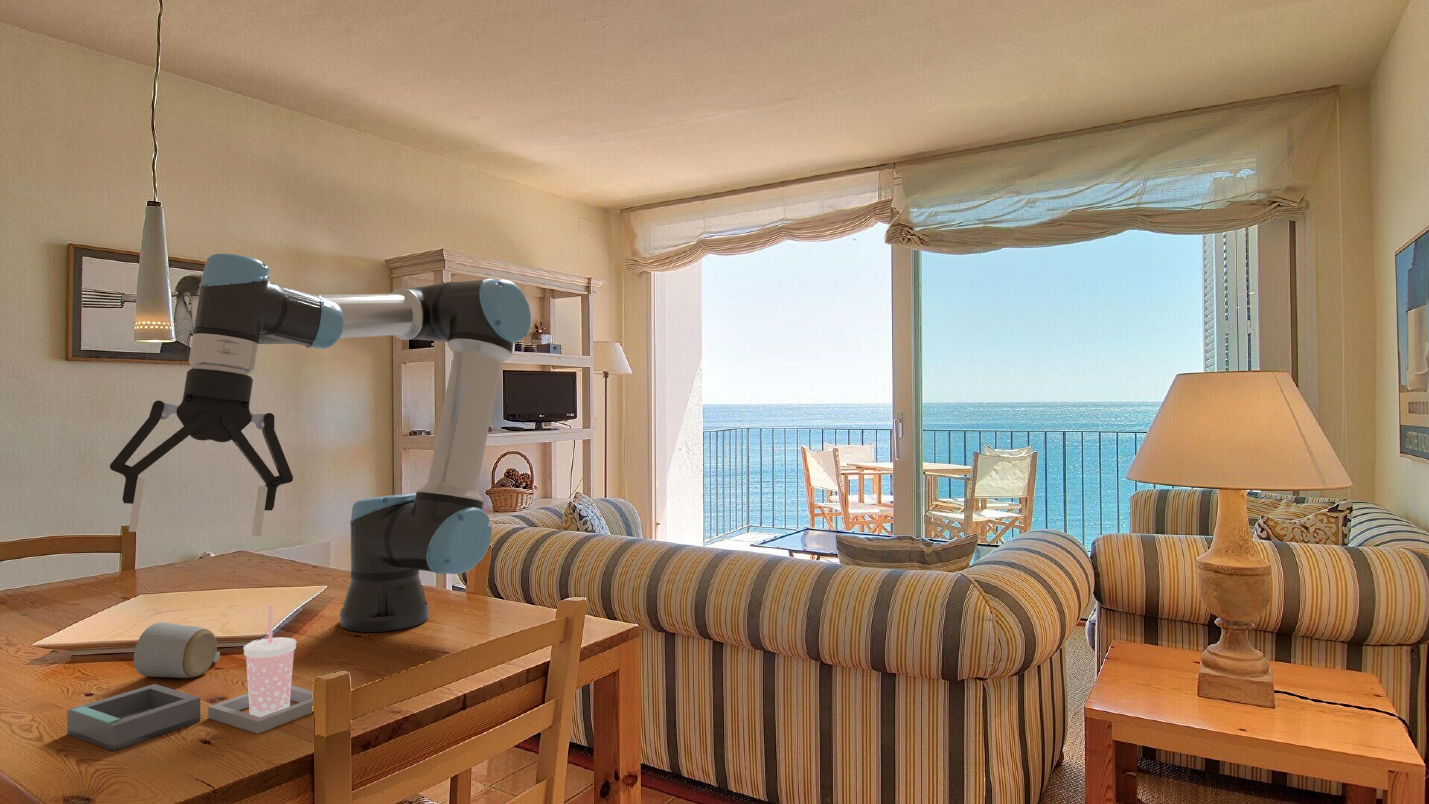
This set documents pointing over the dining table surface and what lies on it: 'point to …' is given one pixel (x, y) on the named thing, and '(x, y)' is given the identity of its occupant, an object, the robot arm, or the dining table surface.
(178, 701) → the dark gray open tray
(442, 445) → the robot arm
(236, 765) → the dining table surface
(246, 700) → the gray rectangular frame
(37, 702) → the dining table surface
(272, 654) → the beverage cup
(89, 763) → the dining table surface
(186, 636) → the ceramic mug
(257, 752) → the dining table surface
